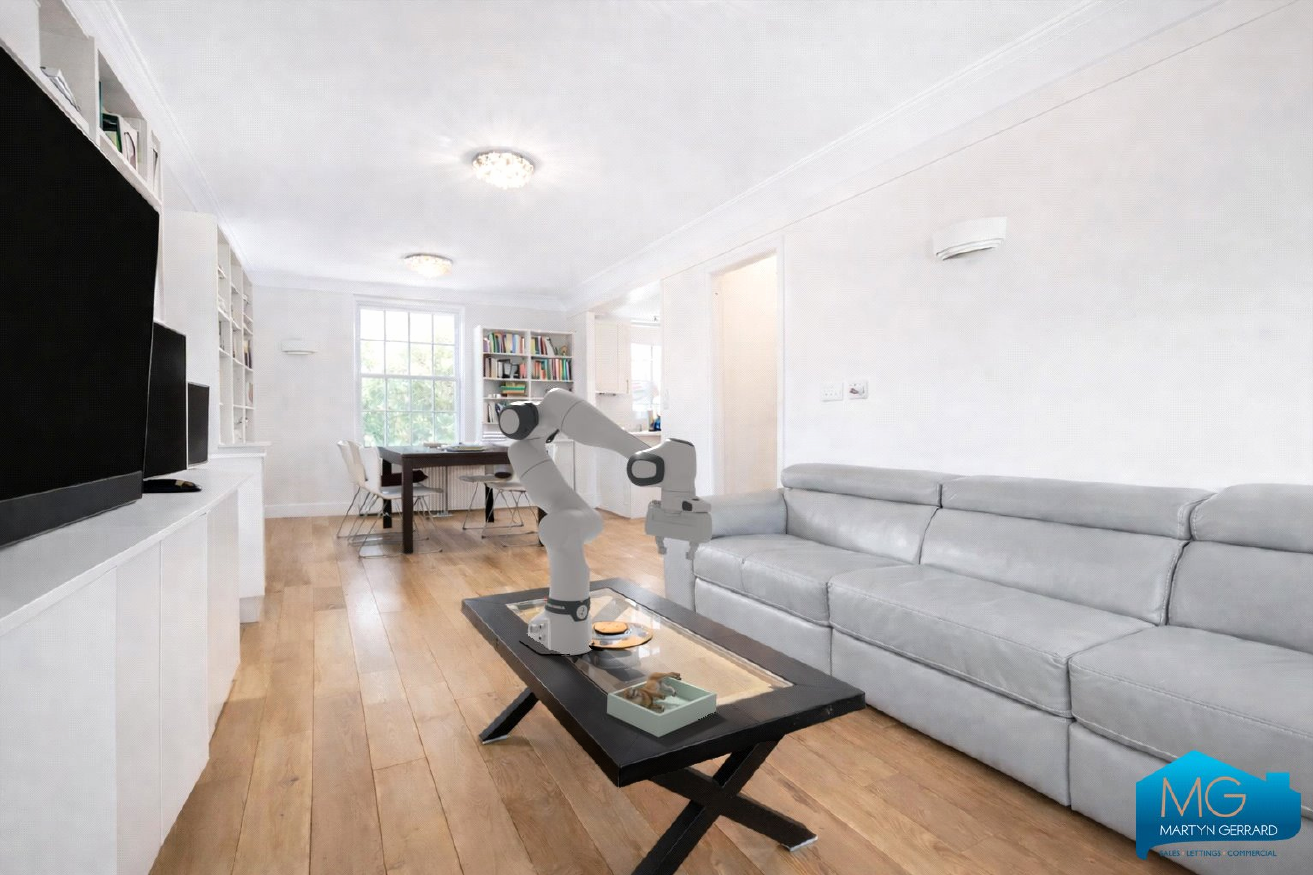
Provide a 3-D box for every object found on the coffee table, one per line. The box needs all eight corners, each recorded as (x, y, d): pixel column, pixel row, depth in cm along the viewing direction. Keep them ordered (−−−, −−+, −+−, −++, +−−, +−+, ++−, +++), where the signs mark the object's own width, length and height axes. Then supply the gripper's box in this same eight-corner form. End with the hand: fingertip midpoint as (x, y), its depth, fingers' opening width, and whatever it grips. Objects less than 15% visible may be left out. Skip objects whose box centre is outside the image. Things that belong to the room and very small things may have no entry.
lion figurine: (656, 697, 129) (617, 686, 132) (655, 722, 129) (616, 710, 133) (684, 668, 142) (648, 659, 146) (683, 691, 142) (647, 681, 146)
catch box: (606, 713, 133) (607, 693, 134) (664, 692, 146) (665, 674, 147) (658, 737, 123) (659, 716, 123) (715, 712, 136) (716, 693, 136)
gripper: (640, 499, 166) (638, 552, 166) (700, 506, 152) (698, 563, 151) (656, 498, 170) (654, 550, 170) (716, 505, 156) (714, 561, 156)
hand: (675, 556), depth 161 cm, fingers open, 8 cm apart
